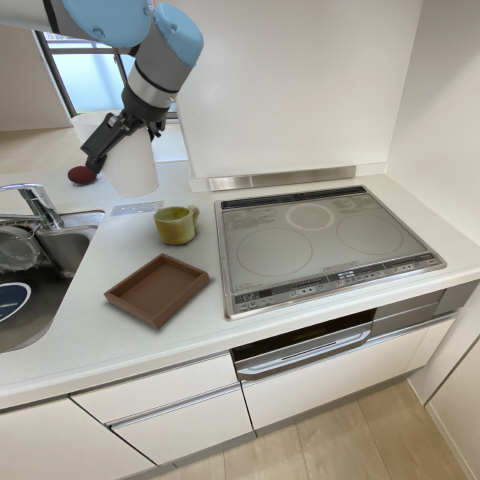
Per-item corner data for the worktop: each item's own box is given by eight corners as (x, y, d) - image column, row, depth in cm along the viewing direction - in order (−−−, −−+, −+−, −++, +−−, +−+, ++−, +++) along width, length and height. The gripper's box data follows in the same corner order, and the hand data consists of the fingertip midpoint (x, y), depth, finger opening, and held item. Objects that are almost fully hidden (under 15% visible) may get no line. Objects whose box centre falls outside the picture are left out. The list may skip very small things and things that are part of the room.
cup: (110, 207, 59) (69, 128, 48) (106, 184, 67) (69, 112, 56) (171, 193, 65) (147, 120, 54) (161, 174, 73) (137, 107, 62)
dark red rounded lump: (69, 182, 95) (60, 167, 92) (95, 175, 100) (87, 160, 97) (76, 189, 92) (66, 173, 88) (102, 181, 97) (94, 166, 93)
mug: (168, 251, 67) (158, 213, 64) (155, 244, 74) (145, 209, 70) (213, 238, 75) (206, 204, 72) (197, 233, 82) (191, 202, 79)
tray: (109, 302, 56) (102, 293, 54) (166, 261, 67) (162, 252, 65) (158, 329, 52) (152, 320, 50) (210, 281, 63) (207, 272, 61)
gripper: (112, 126, 41) (84, 194, 53) (203, 98, 60) (167, 152, 72) (67, 84, 39) (47, 165, 51) (176, 69, 58) (144, 130, 70)
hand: (118, 158), depth 61 cm, fingers closed on cup, 13 cm apart
